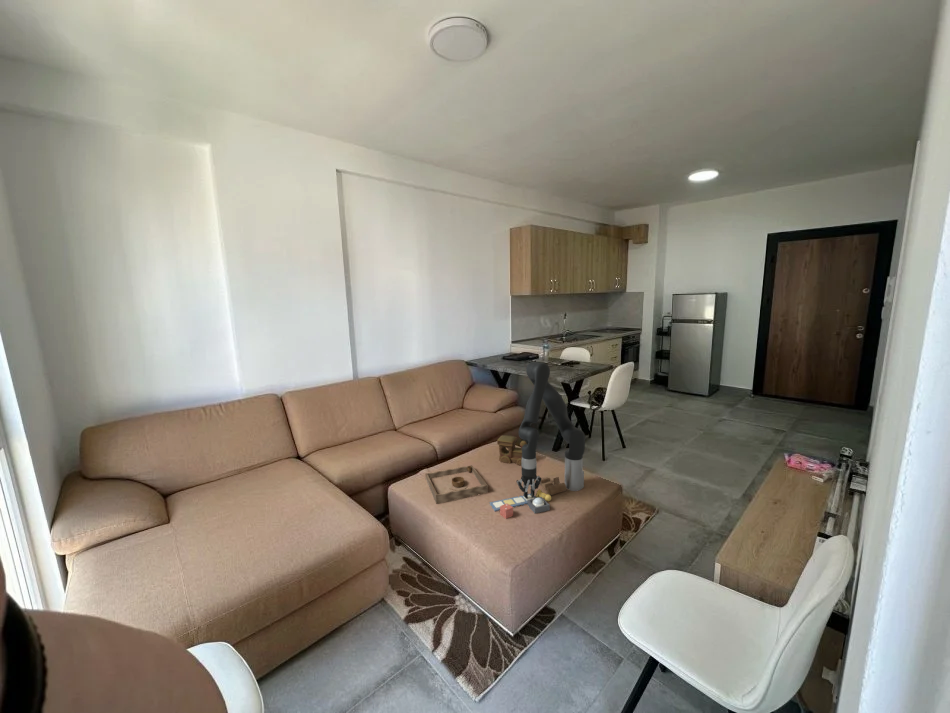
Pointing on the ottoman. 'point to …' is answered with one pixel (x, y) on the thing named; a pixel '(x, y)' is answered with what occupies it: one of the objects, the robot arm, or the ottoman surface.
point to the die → (506, 511)
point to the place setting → (459, 480)
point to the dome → (538, 502)
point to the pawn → (543, 495)
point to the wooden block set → (552, 486)
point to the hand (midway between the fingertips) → (529, 497)
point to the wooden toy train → (510, 450)
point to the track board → (510, 502)
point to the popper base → (540, 508)
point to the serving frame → (458, 493)
